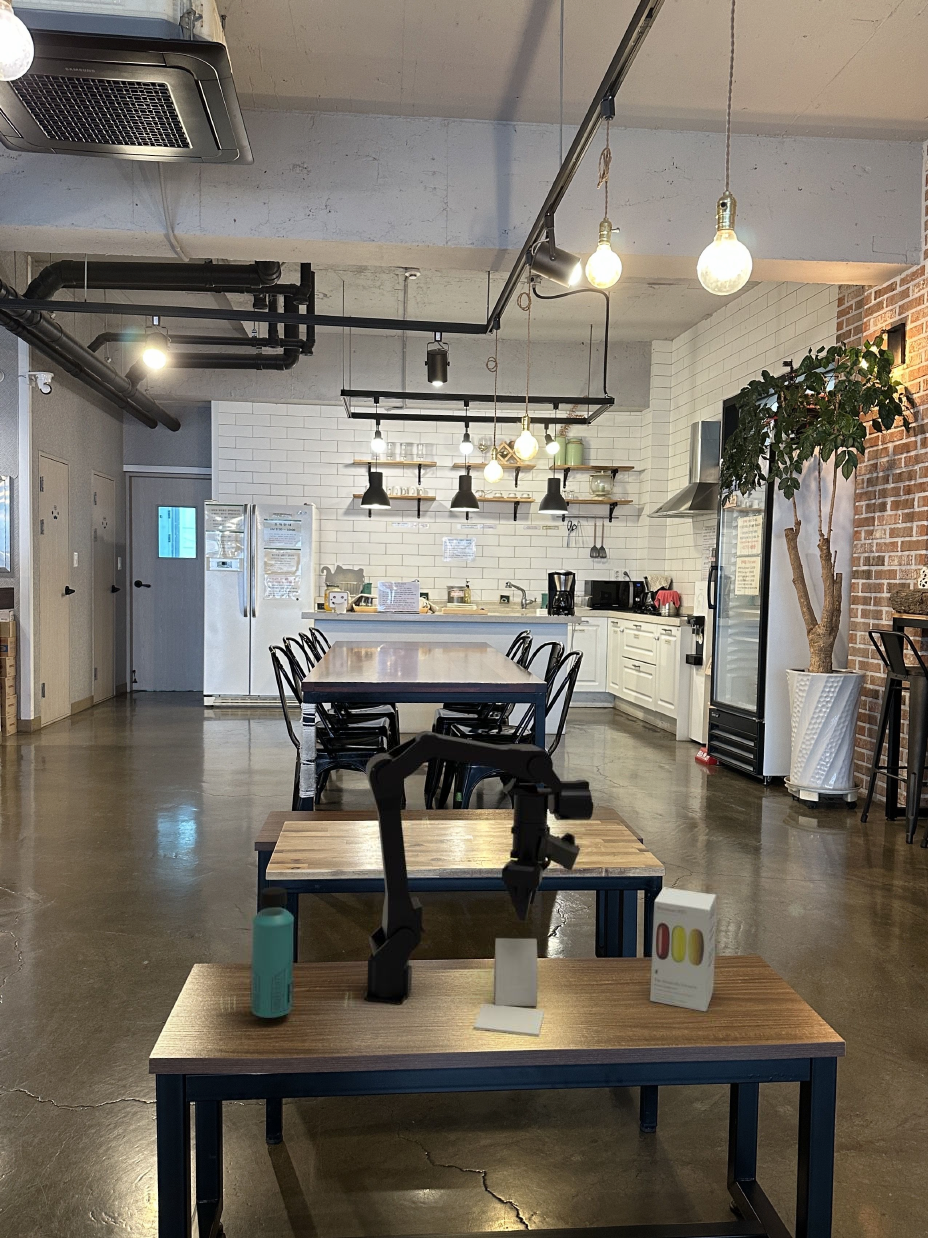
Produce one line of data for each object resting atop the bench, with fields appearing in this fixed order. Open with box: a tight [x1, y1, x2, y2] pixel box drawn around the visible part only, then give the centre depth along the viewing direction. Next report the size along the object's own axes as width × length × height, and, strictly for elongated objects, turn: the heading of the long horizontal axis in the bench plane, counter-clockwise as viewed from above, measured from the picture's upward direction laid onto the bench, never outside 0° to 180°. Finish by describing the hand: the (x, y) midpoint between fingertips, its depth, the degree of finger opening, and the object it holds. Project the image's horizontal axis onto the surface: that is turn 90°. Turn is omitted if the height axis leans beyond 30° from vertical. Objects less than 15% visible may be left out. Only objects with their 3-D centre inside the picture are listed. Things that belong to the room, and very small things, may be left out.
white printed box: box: [493, 937, 539, 1007], centre depth 149 cm, size 4×7×10 cm, turn 93°
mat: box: [472, 1003, 545, 1037], centre depth 142 cm, size 10×8×1 cm
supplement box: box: [649, 886, 718, 1012], centre depth 154 cm, size 10×9×17 cm
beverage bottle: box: [249, 886, 295, 1018], centre depth 141 cm, size 6×7×20 cm
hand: (526, 911), depth 155 cm, fingers open, 9 cm apart
